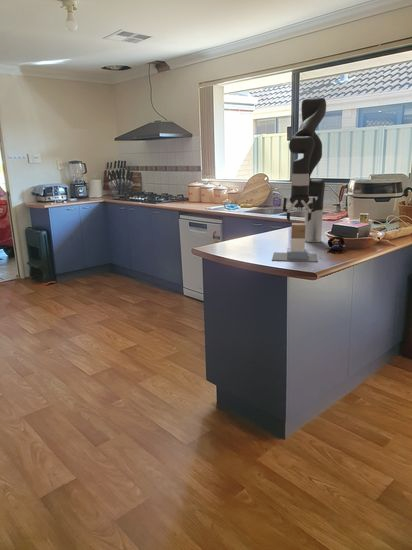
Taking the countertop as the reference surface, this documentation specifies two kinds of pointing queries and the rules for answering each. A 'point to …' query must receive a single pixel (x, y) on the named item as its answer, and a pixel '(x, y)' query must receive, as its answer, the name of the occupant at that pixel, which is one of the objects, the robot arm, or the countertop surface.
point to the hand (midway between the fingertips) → (298, 221)
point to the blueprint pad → (284, 257)
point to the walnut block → (298, 230)
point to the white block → (297, 245)
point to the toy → (335, 244)
